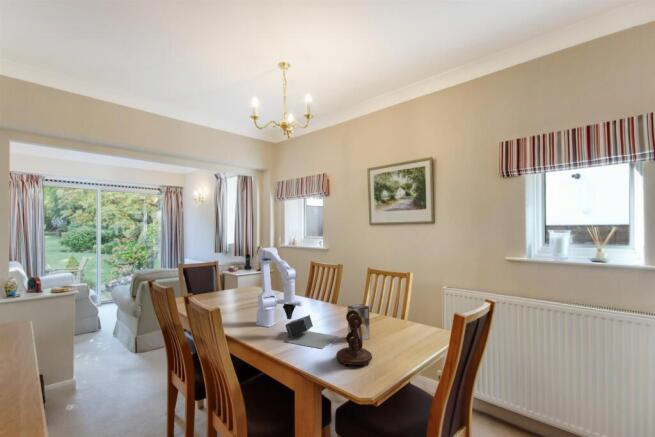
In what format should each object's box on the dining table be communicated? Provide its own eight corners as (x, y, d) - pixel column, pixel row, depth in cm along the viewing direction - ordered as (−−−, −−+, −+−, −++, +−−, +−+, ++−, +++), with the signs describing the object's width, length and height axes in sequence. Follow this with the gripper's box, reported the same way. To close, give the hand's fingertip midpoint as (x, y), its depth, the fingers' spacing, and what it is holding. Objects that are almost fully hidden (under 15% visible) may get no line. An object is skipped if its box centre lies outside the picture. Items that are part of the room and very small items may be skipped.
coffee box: (362, 335, 161) (362, 303, 161) (369, 338, 155) (369, 306, 155) (347, 338, 156) (347, 305, 157) (354, 342, 151) (354, 308, 151)
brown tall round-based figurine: (375, 367, 123) (375, 316, 124) (338, 369, 122) (338, 317, 123) (367, 352, 138) (367, 307, 138) (334, 353, 137) (334, 308, 137)
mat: (285, 342, 151) (285, 340, 151) (303, 331, 167) (303, 329, 167) (322, 349, 142) (322, 346, 142) (337, 336, 158) (337, 334, 158)
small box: (288, 337, 155) (307, 331, 153) (284, 325, 156) (303, 318, 154) (296, 332, 165) (313, 326, 163) (292, 320, 166) (309, 314, 164)
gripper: (273, 292, 160) (273, 319, 160) (297, 295, 154) (297, 322, 154) (280, 290, 167) (280, 315, 166) (304, 292, 160) (304, 319, 160)
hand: (289, 318), depth 160 cm, fingers closed
